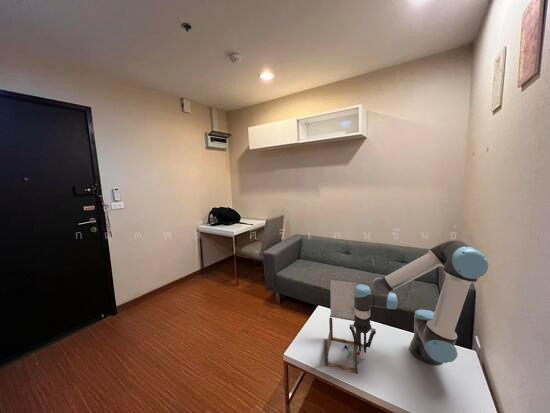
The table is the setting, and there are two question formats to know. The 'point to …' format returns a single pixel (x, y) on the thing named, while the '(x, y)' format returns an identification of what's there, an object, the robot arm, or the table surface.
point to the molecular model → (350, 351)
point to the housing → (330, 338)
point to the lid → (342, 300)
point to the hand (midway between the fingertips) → (362, 357)
